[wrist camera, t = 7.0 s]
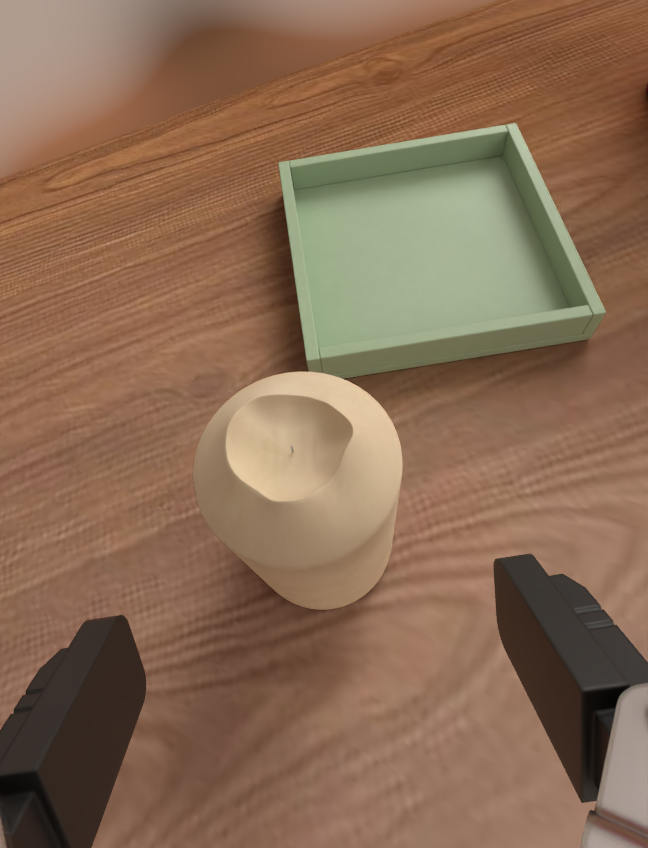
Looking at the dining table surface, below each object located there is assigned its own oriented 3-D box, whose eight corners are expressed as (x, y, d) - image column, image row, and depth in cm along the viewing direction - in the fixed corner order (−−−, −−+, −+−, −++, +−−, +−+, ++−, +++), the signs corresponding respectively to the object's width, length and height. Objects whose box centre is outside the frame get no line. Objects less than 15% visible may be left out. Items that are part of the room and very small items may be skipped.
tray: (311, 384, 25) (306, 361, 23) (283, 192, 30) (278, 161, 29) (590, 339, 24) (607, 312, 23) (507, 155, 30) (516, 122, 28)
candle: (388, 474, 22) (398, 335, 13) (395, 611, 20) (414, 552, 11) (260, 478, 23) (188, 345, 14) (252, 611, 20) (157, 556, 11)
